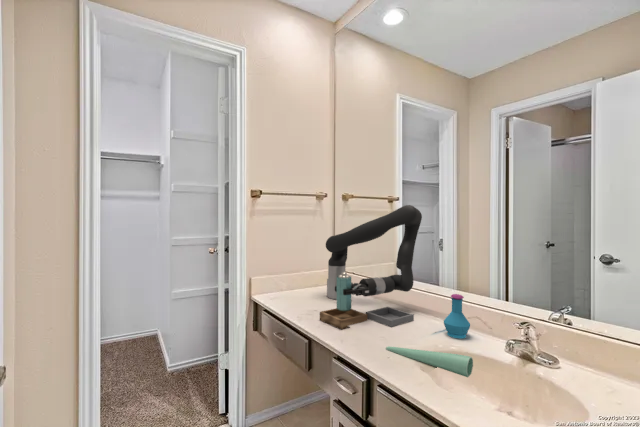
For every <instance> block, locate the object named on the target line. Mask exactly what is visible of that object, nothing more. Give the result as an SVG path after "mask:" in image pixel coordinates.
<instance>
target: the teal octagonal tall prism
mask: <svg viewBox="0 0 640 427" xmlns="http://www.w3.org/2000/svg"><path fill="white" fill-rule="evenodd" d="M351 282H352V276H351V275H348V274H347V272H346V271H345V272H342V273H341V275H339V276H337V299H336V308H337V310H339V311H350V310H351V309H352V294H351V295H343V290H344V289H351Z"/></svg>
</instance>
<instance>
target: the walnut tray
mask: <svg viewBox="0 0 640 427" xmlns="http://www.w3.org/2000/svg"><path fill="white" fill-rule="evenodd" d="M319 321H321V322H323V323H324V324H325V323H326V324H328V325H330V326H332V327H334V328H337V329H339V330H341V331H342V330H345V329H349V328H350V329H351V326H352V325H355V324H359V323H363V322H367V321H368V319H367V314H366V313H365V312H361V311H358V310H356V309H353V308H351V310H350V311H339V310H337V307H336V308H331V309H327V310H322V311H319Z"/></svg>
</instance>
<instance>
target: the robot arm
mask: <svg viewBox="0 0 640 427" xmlns="http://www.w3.org/2000/svg"><path fill="white" fill-rule="evenodd" d="M422 218H423V215H422V213H421V211H420V210H419V209H418V208H417V207H415V206H413V205H411V204H406V205H403V206H401V207H398V208H397V209H395V210H393V211H391V212H390V213H388V214H385V215H382V216H380V217H378V218H375V219H371V220H370V221H367V222H364V223H362V224H360V225H358V226H355V227H354V228H352V229H349V230H348V231H345V232H343V233H339V234H334V235H331V236H329V237H328V238H327V240H326V242H325V248H326V250H327V251H328V252H330V253H331V256H330V258H329V259H328V265H327V266H328V270H327V272H328V273H327V278H326V297H327V298H329V299H330V300H337V276H339V275H341V273H342V272H346V269H347V268H346V267H347V266H346V262H347V260H348V247H350V246H353V245H359V244H363V243H368V242H371V241H373V240H376V239H378V238H379V239H380V238H381V237H382V236H383V235H385V234H386V233H387V232H389V231H390V230H391V229H393V228H396V227H399V226H403V225H404V231H403V232H404V234H403V238H402V240H401V242H400V244H399V247H398V251H397V258H396V265H395V266H396V268H397V269H398V270H400V274H391V275H388V276H381V277H376V276H375V277H368V278H361V279H360V281H359V282H354V283H353V282H352V281H351V289H344V290H343V295H351V296H357V297H358V296H359V297H360V296H363V297H365V298H366V297H370V296H371V297H372V296H379V295H381V294H388V293H392V292H393V291H399V292H405V293H406V292H409V291H411V290H412V288H413V286H414V273H413V267H412V266H413V260H414V254H415V253H414V252H415V245H416V240H417V238H418V234H419V229H420V226H421V224H422V220H423V219H422Z"/></svg>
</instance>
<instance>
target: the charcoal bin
mask: <svg viewBox="0 0 640 427" xmlns="http://www.w3.org/2000/svg"><path fill="white" fill-rule="evenodd" d="M365 314H367V320H370V321H373V322H376V323H379V324H381V325H384V326H387V327H389V328H394V327H398V326H400V325H404V324H407V323H410V322H414V320H415V318H414V317H415V314H413V313H410V312H407V311H403V310H400V309H398V308H394V307H391V306H386V307H381V308H376V309H373V310H369V311H365Z"/></svg>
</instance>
